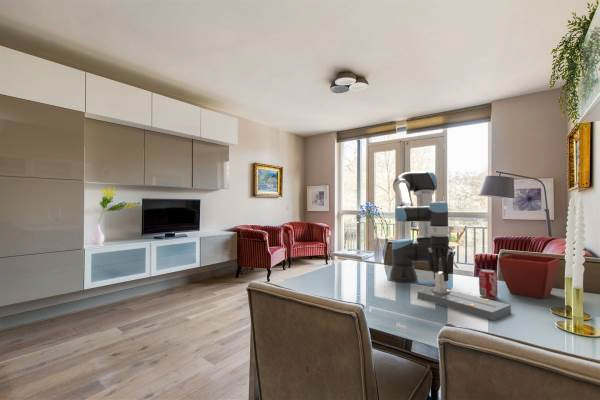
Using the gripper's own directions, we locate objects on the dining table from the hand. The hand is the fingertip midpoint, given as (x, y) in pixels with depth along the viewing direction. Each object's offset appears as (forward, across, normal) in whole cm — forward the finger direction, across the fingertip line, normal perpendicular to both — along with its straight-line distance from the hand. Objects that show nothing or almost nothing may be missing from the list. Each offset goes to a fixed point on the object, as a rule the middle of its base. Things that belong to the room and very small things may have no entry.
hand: (441, 287), depth 130 cm
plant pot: (+6, +18, +42) cm, 46 cm away
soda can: (+6, +10, +21) cm, 24 cm away
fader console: (+6, +9, 0) cm, 10 cm away
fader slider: (+2, 0, 0) cm, 2 cm away
